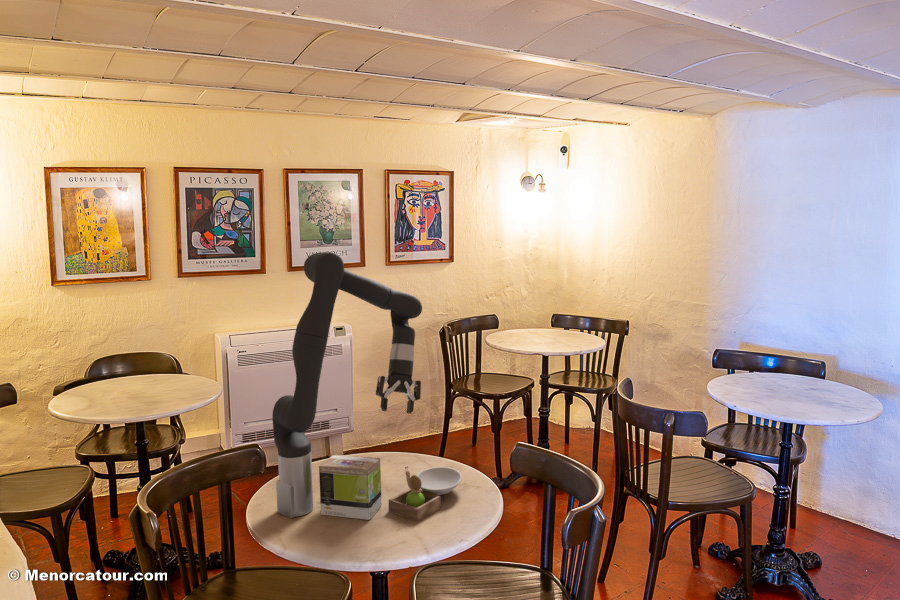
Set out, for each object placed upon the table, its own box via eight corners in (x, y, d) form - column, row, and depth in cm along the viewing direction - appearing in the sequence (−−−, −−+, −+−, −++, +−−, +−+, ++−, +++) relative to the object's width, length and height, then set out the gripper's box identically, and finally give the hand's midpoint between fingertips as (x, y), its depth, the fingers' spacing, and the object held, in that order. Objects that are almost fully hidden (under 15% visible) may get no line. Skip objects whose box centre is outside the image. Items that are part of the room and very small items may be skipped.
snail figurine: (413, 502, 186) (412, 463, 185) (428, 509, 182) (428, 469, 180) (399, 509, 182) (399, 469, 181) (415, 515, 178) (414, 474, 176)
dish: (457, 507, 183) (456, 491, 182) (408, 504, 185) (408, 488, 185) (466, 483, 200) (466, 467, 199) (422, 480, 203) (421, 465, 202)
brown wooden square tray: (417, 521, 174) (417, 509, 174) (388, 511, 181) (388, 499, 180) (440, 507, 183) (440, 496, 182) (412, 498, 189) (412, 487, 189)
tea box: (382, 506, 184) (381, 457, 183) (369, 521, 175) (367, 470, 173) (335, 500, 188) (333, 452, 187) (319, 515, 179) (317, 465, 177)
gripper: (386, 356, 191) (380, 410, 188) (427, 361, 198) (422, 414, 195) (375, 357, 197) (370, 410, 194) (416, 363, 204) (411, 414, 201)
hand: (396, 412), depth 194 cm, fingers open, 8 cm apart
